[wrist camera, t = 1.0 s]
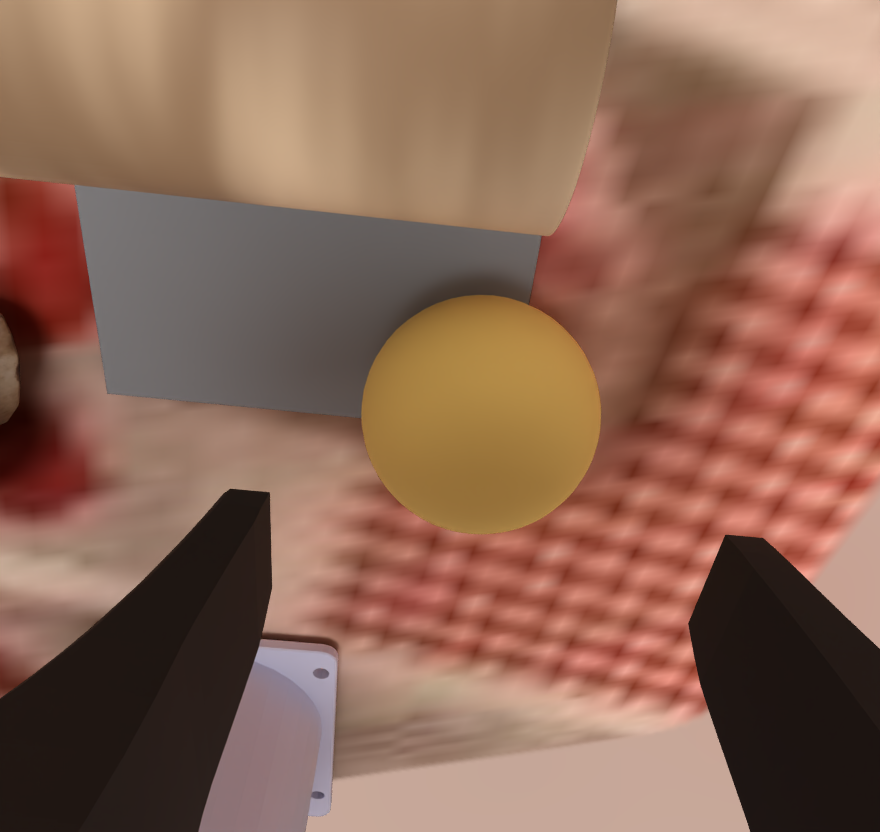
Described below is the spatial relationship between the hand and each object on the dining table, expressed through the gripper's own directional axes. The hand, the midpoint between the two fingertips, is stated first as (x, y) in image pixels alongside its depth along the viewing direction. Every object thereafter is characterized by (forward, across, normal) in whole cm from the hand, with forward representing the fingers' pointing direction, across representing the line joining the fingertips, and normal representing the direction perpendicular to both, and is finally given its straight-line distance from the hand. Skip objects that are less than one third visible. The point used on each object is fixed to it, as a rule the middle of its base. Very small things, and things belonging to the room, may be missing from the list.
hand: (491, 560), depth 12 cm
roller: (+8, +4, -7) cm, 11 cm away
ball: (+7, 0, 0) cm, 7 cm away
